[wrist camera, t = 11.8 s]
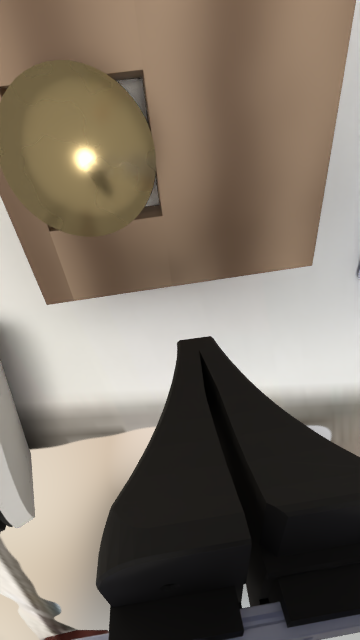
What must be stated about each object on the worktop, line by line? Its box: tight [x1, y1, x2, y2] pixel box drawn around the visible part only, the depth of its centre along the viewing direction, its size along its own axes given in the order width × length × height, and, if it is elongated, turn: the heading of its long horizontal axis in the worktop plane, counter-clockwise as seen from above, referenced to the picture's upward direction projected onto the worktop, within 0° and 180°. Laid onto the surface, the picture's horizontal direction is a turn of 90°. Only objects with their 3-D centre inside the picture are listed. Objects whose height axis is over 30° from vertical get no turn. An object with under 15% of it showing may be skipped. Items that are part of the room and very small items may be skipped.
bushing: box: [0, 60, 156, 237], centre depth 13 cm, size 5×5×6 cm
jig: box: [0, 0, 356, 305], centre depth 14 cm, size 16×14×2 cm
